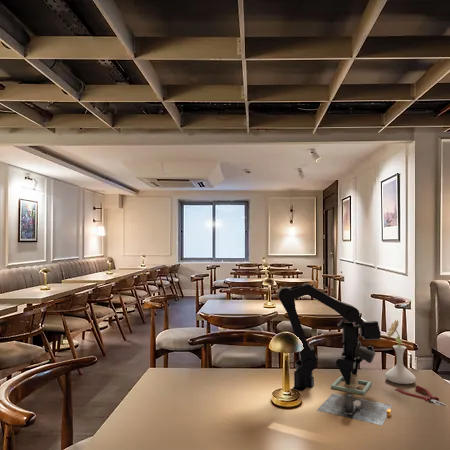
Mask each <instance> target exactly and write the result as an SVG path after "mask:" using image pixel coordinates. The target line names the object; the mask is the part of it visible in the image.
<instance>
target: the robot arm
mask: <svg viewBox="0 0 450 450" xmlns="http://www.w3.org/2000/svg"><path fill="white" fill-rule="evenodd" d="M277 295H278V299H279V301H280V303H281V304H282V307H283V308H284V310H285V311H286V314H287V316H288V320H289V322H290V325H291V328H292V331H293V335H294V336H295V335H296V336H297V337H299V339H300V340H301V341H302V343H303V347H304V349H303V350H302V351H301V352H299V351H298V353H299V359H297V361H296V362H294V366H295V371H294V373H293V377H294V378H293V380H294V383H293V385H294V386H293V387H292V390H293V389H294V390H295V391H298V392H303V391H304V390H306V389H307V388H310V389H312V388H313V387H314V386H315V377H314V375H313V373H314V372H313V371H314V370H315V369H316V368H317V366H318V360H319V359H318V356H317V353H316V351H315V347H314V345H309V344H308V341H307V338H306V335H305V332H304V329H303V326H302V323H301V320H300V318H299V315H298V312H297V309H296V301H295V300H296V299H298V298H301V297H303V296H304V297H305V296H309V297H310V298H313V299H314V300H316V301H317V302H319V303H321V304H324V306H326V307H328V308H331V309H332V310H334V311H335V312H336V313H337V314H338V315H340V316H341V318H343V319H345V320H346V321H347V322H346V321H345V322H344V320H343V319H341V320H340V321H339V322H338V323H337V324H336V325H337V326H338V328H341V329H342V341H341V346H342V352H341V356H340V357H339V358H338V359H337V360H335V366H336V367H337V369H338V370H339V371H340V374H341V376H342V377H343V378H344V380H345V381H344V383H345V382H346V384H347V385H350V380H351V374H353V375H358V371H359V366H360V364H361V362H363V361H366V363H369V364H372V362H373V361H374V358H375V356H376V352H375V349H374V346H371V345H369V346H367V347H366V346H362V342H361V341H360V340H359V339H360V338H359V337H361V338H362V339H363V340H368V341H369V340H370V341H372V340H373V341H375V340H376V341H378V340H379V341H380V340H381V331H380V330H381V329H380V326H379V325H380V324H379V322H378V321H377V320H372V321H371V320H369V321H367V320H366V321H364V320H363V318H362V317H361V316H360V314H361V313H360V311H359V309H358V308H356V307H355V306H354V305H352V304H349V303H346V302H344V301H341V300H337V299H335V298H334V297H332V296H330V295H329V294H327V293H325V292H323V291H321V290H319V289H317V288H315V287H314V286H312V285H311V284H310V283H308V282H307V283H306V282H305V283H303V284H300V285H294V286H281V287H280V288H279V289H278V291H277ZM354 323H355V324H354Z"/></svg>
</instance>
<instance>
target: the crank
mask: <svg viewBox="0 0 450 450" xmlns="http://www.w3.org/2000/svg"><path fill="white" fill-rule="evenodd" d="M344 396H345V412H346V413H347V414H353V413H354V411H355V410H356V409H360V408H361V401H359V400H357V399H353V397H354V393H353V394H352V393H351V392H345V393H344Z"/></svg>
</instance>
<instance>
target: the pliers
mask: <svg viewBox="0 0 450 450" xmlns="http://www.w3.org/2000/svg"><path fill="white" fill-rule="evenodd" d="M414 390H415V391H416V392H418V393H420V394H422V395H424V396H422V395H418V394H416V393H411V392H407V391H405V390H402V389H400V388H395V391H396V392H399V393H400V394H402V395H405V396H409V397H413V398H417V399H421V400H424V401H425V402H428V404H434V405H437V406H440V407H442V406H443V407H448V404H446V403H444V402H442V401H440V398H439V397H438V396H433V394H432V393H431V392H430V391H429V389H427V388H424V387H422V386H420V385H416V386H415V389H414Z"/></svg>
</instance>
